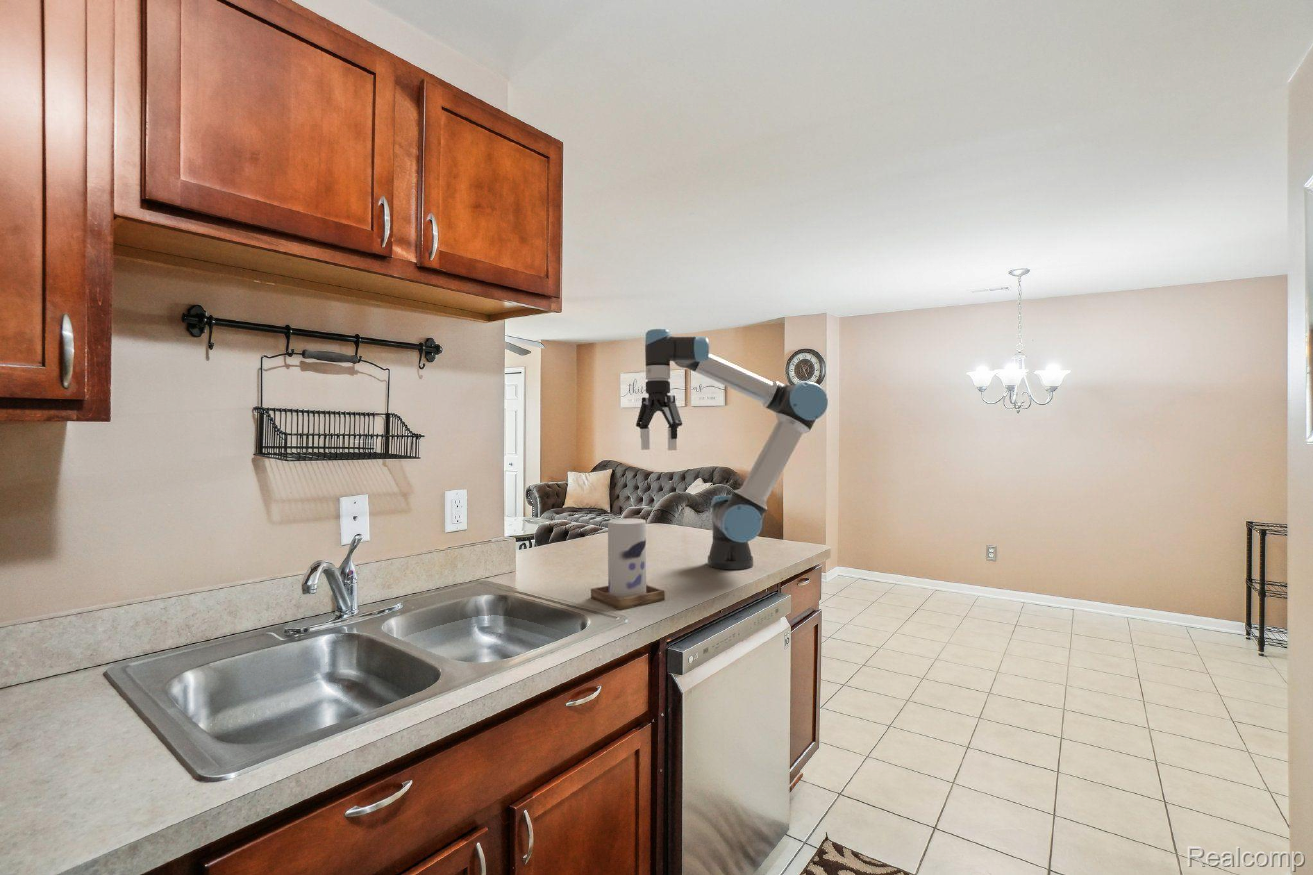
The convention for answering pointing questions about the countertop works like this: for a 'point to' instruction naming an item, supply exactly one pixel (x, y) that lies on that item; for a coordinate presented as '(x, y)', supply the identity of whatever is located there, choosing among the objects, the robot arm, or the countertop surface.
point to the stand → (629, 602)
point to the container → (626, 557)
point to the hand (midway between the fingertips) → (658, 450)
